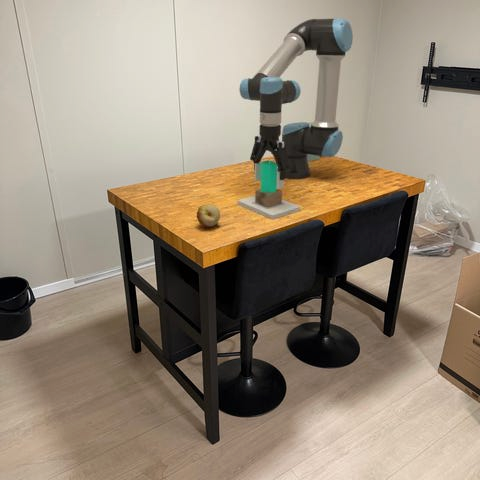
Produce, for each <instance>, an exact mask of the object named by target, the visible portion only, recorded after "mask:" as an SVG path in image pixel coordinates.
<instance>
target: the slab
mask: <svg viewBox="0 0 480 480" xmlns="http://www.w3.org/2000/svg"><path fill="white" fill-rule="evenodd" d="M236 202H237V204H236V205H239V207H242V208H245V209H248V210H250V211H252V212H254V213H256V214H258V215H261V216H264V217H266V218H268V219H270V220H275V219H280V218H282V217H285V216H288V215H291V214H294V213H297V212H298V213H299V212H300V211H301V209H302V208H301V206H300V205H298V204H295V203H292V202H289V201H287V200H285V199H282V204H279V205H275V206H272V207H269V208H267V207H264V206H262V205H260V204H257V203H255V195H252V196H248V197H246V198H241V199H238V200H237V201H236Z"/></svg>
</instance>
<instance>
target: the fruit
mask: <svg viewBox="0 0 480 480" xmlns="http://www.w3.org/2000/svg"><path fill="white" fill-rule="evenodd" d="M220 218H221V212H220V209H219V208H218V207H217V206H216V205H214V204H212V203H206V204H203V205H200V206H198V210H197V211H196V219H197V221H198V224H199V225H201V226H202V227H204V228H212V227H214V226H215V225H217V224H218V223H219V221H220V220H221V219H220Z"/></svg>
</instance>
